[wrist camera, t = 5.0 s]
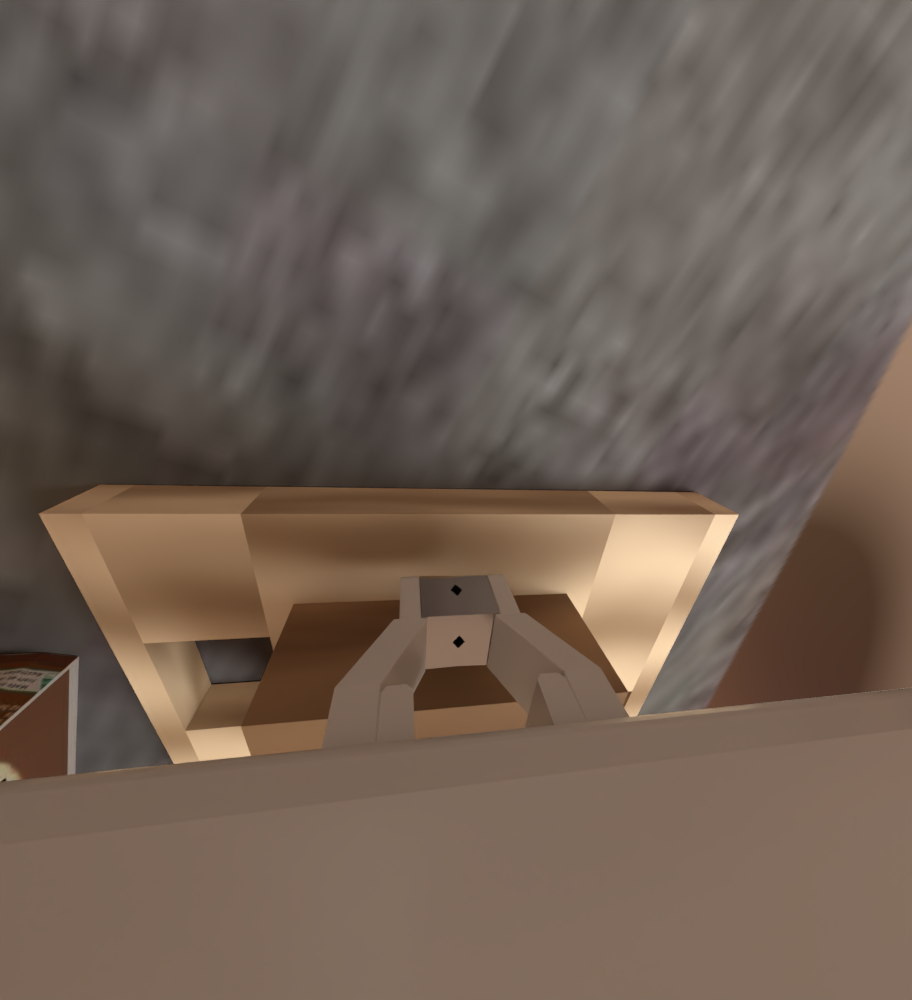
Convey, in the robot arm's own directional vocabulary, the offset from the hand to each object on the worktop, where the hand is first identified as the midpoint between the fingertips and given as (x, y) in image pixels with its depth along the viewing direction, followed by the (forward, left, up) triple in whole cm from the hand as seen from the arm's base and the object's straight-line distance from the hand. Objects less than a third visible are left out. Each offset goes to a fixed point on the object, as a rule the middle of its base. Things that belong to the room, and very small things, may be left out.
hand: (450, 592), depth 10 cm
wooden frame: (+8, 0, -4) cm, 9 cm away
